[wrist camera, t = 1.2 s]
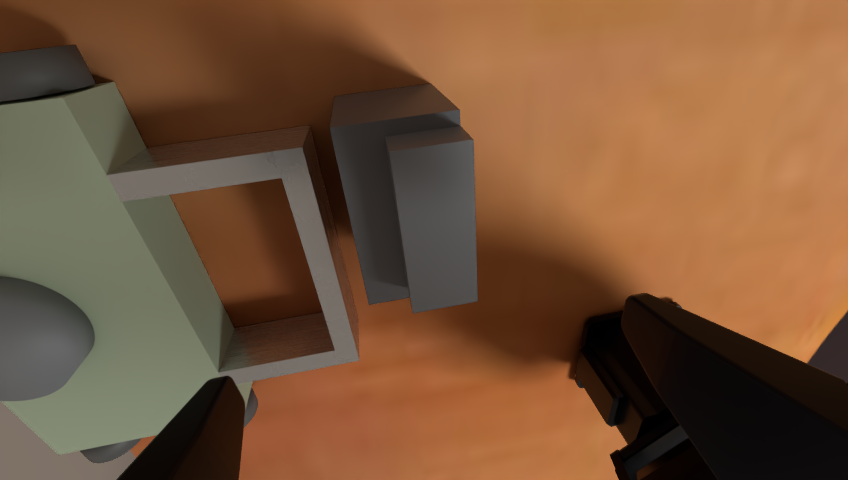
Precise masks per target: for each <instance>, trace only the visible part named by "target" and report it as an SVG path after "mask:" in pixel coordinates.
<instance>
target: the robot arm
mask: <svg viewBox="0 0 848 480" xmlns="http://www.w3.org/2000/svg"><path fill="white" fill-rule="evenodd" d="M575 382H576V384H577V385H578V387H580V388H585V390H586V392H587V393H588V395H589V396H590V398H591V400H592V401H593V403H594V404H595V406H596V408H597V409H598V411H599V413H600V414H601V416H602V417H603V419H604V421H605V422H606V424H608V425H609V426H611V427H612V426H616V427H617V428H618V430H619V431H620V433H621V435H622V436H623V438H624V439H625V441H626V442H627V444H628V445H627V446H625V447H624V448H622V449H621V450H616V451H614V452H613V453H611V454H610V457H611V459H612V462H613V464H614V466H615V472H616V474H617V476H618V479H619V480H848V382H847V383H846V382H845V381H844V380H843V379H841V378H838V377H836V376H834V375H832V374H829V373H827V372H825V371H822V370H820V369H818V368H816V367H813V366H811V365H809V364H807V363H804V362H802V361H800V360H798V359H795V358H793V357H791V356H789V355H786V354H784V353H782V352H779V351H777V350H775V349H773V348H770V347H768V346H766V345H764V344H761V343H759V342H757V341H755V340H752V339H750V338H748V337H745V336H743V335H741V334H739V333H736V332H734V331H732V330H730V329H727V328H725V327H723V326H721V325H718V324H716V323H714V322H711V321H709V320H707V319H705V318H702V317H700V316H698V315H696V314H693V313H691V312H689V311H687V310H684V309H682V307H681V306H680V305H679V304H678V303H676V302H669V303H668V302H666V301H664V300H662V299H659V298H657V297H655V296H653V295H650V294H647V293H641V294H636V295H631V296H629V297H628V298H627V299H626V302H625V306H624V311H623V312H618V313H613V314H608V315H602V316H597V317H593V318H590V319H588V320H587V321H586V323H585V326H584V331H583V337H582V343H581V348H580V350H579V356H578V362H577V368H576V378H575ZM244 419H245V401H244V398H243V396H242V395H241V393H240V391H239V389H238V387H237V386H236V384H235V382H234V380H233V379H232V377H230V376H222V377H217V378H212V379H209V380H208V381H207V382H206V383H205V384H204V385H203V386H202V387H201V388H200V389H199V390H198V391H197V392H196V393H195V394H194V396H193V397H192V398H191V399H190V400H189V401H188V402H187V403H186V404H185V405H184V406H183V408H182V409H181V410H180V411H179V412H178V413H177V414H176V415H175V416H174V417H173V418H172V420H171V421H170V422H169V423H168V424H167V425H166V426H165V427H164V428H163V429H162V430H161V432H160V433H159V434H158V435H157V436H156V437H155V438H154V439H153V440H152V441H151V442H150V444H149V445H148V446H147V447H146V448H145V449H144V450H143V451H142V452H141V453H140V454H139V456H138V457H137V458H136V459H135V460H134V461H133V462H132V463H131V464H130V465H129V466H128V468H127V469H126V470H125V471H124V472H123V473H122V474H121V475H120V476H119V477H118V479H117V480H239V471H240V461H241V451H242V440H243V429H244Z"/></svg>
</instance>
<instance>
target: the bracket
mask: <svg viewBox="0 0 848 480" xmlns="http://www.w3.org/2000/svg"><path fill="white" fill-rule="evenodd" d="M107 177H108V179H109V180H110V182H111V184H112V186H113V187H114V189H115V191H116V193H117V194H118V196H119V198H120V200H121V202H124V201H130V200H137V199H144V198H151V197H157V196H164V195H171V194H178V193H184V192H191V191H198V190H204V189H211V188H218V187H225V186H231V185H238V184H245V183H252V182H258V181H265V180H272V179H278V178H282V181H283V184H284V188H285V191H286V194H287V197H288V201H289V204H290V207H291V210H292V213H293V217H294V220H295V223H296V226H297V230H298V233H299V236H300V239H301V242H302V246H303V249H304V252H305V255H306V259H307V262H308V265H309V268H310V271H311V275H312V278H313V281H314V284H315V288H316V291H317V294H318V297H319V300H320V304H321V307H322V310H323V312H321V313H315V314H310V315H304V316H299V317H293V318H288V319H282V320H277V321H271V322H266V323H260V324H255V325H249V326H244V327H238V328H234V330H233V333H232V336H231V339H230V342H229V344H228V347H227V350H226V353H225V355H224V358H223V361H222V364H221V367H220V369H219V372H218V373H219V375H220V377H222V376H230V377H232V379H233V380H234V382H235V384H241V383H246V382H251V381H256V380H262V379H267V378H272V377H277V376H282V375H287V374H292V373H298V372H303V371H308V370H313V369H318V368H323V367H328V366H333V365H339V364H344V363H349V362H354V361H359V331H358V317H357V313H356V309H355V305H354V301H353V297H352V293H351V289H350V285H349V281H348V277H347V273H346V269H345V265H344V261H343V257H342V253H341V249H340V245H339V241H338V237H337V233H336V229H335V225H334V221H333V217H332V213H331V209H330V205H329V201H328V197H327V193H326V189H325V185H324V181H323V177H322V173H321V169H320V165H319V161H318V157H317V153H316V149H315V145H314V141H313V137H312V133H311V129H310V125H308V126H301V127H294V128H287V129H279V130H272V131H265V132H257V133H250V134H243V135H236V136H228V137H221V138H214V139H206V140H199V141H192V142H185V143H177V144H170V145H163V146H156V147H148V148H145V149H144V150H142V151H141V152H139V153H138V154H137V155H135V156H134V157H132V158H131V159H129V160H128V161H126V162H125V163H123V164H122V165H121V166H119V167H118V168H116V169H115V170H113V171H112V172H110V173H109V174H107Z"/></svg>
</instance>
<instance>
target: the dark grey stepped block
mask: <svg viewBox="0 0 848 480" xmlns="http://www.w3.org/2000/svg"><path fill="white" fill-rule="evenodd" d="M330 132H331V137H332V141H333V146H334V150H335V155H336V159H337V164H338V168H339V173H340V177H341V181H342V186H343V190H344V195H345V199H346V204H347V208H348V213H349V217H350V222H351V226H352V231H353V235H354V240H355V244H356V249H357V253H358V258H359V262H360V267H361V271H362V275H363V280H364V284H365V289H366V293H367V298H368V302H369V305H371V304H377V303H382V302H388V301H393V300H399V299H404V298H410V302H411V306H412V311H413V313H418V312H423V311H428V310H434V309H439V308H445V307H450V306H455V305H461V304H466V303H471V302H477V301H478V290H477V253H476V216H475V179H474V143H473V139H472V137H471V136H470V135H469V134H468V133H467V132H466V131H465V130H464V129H463V128H462V127H461V126H460V109H458V108H457V107H456V106H455V105H454V104H453V103H452V102H451V101H450V100H449V99H447V98H446V97H445V96H444V95H443V94H442V93H441V92H440V91H439V90H437V89H436V88H435V87H434V86H433V85H432V84H423V85H416V86H408V87H401V88H393V89H385V90H378V91H370V92H362V93H355V94H347V95H340V96H335V97H334V103H333V109H332V115H331V122H330Z"/></svg>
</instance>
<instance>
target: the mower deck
mask: <svg viewBox="0 0 848 480" xmlns="http://www.w3.org/2000/svg"><path fill="white" fill-rule="evenodd" d="M145 148H146V146H145V144H144V142H143V140H142V138H141V136H140V134H139V132H138V130H137V128H136V125H135V123H134V121H133V119H132V117H131V115H130V113H129V111H128V109H127V107H126V105H125V103H124V101H123V99H122V97H121V95H120V93H119V91H118V89H117V87H116V84H115V82H107V83H99V84H95V81H94V79H93V77H92V75H91V73H90V71H89V69H88V67H87V65H86V63H85V61H84V59H83V57H82V55H81V54H80V52H79V50H78V48H77V46H76V45H66V46H57V47H48V48H39V49H30V50H22V51H13V52H5V53H0V401H1V402H3V403H4V404H5V405H6V406H7V407H8V408H9V409H10V410H11V411H12V412H13V413H14V414H15V415H16V416H17V417H19V418H20V419H21V420H22V421H23V422H24V423H25V424H26V425H27V426H28V427H29V428H30V429H32V430H33V431H34V432H35V433H36V434H37V435H38V436H39V437H40V438H41V439H42V440H43V441H44V442H45V443H47V444H48V445H49V446H50V447H51V448H52V449H53V450H54V451H55V452H56V453H57V454H59V455H60V454H65V453H70V452H75V451H80V452H81V453H82V454H83V455H84V456H85V457H86V458H87V459H88V460H90V461H91V462H94V463H104V462H108V461H111V460H113V459H116V458H118V457H119V456H121V455H123V454H125V453H126V452H127V451H129V450H130V449H131V448H133V447H134V446H135V445H136V444H137V443H138V442H139V441H140V440H141V438H144V437H149V436H154V435H158V434H159V433H160V432H161V430H162V429H163V428H164V427H165V426H166V425H167V424H168V423H169V422H170V421H171V420H172V418H173V417H174V416H175V415H176V414H177V413H178V412H179V411H180V410H181V409H182V408H183V406H184V405H185V404H186V403H187V402H188V401H189V400H190V399H191V398H192V397H193V396H194V394H195V393H196V392H197V391H198V390H199V389H200V388H201V387H202V386H203V385H204V384H205V383H206V382H207V381H208V380H209V379H212V378H217V377H220V375H219V373H218V372H219V369H220V367H221V364H222V361H223V358H224V355H225V353H226V350H227V347H228V344H229V342H230V339H231V336H232V333H233V330H234V327H233V325H232V322H231V320H230V318H229V316H228V314H227V312H226V310H225V308H224V306H223V304H222V302H221V300H220V298H219V296H218V294H217V292H216V290H215V288H214V286H213V283H212V281H211V279H210V277H209V275H208V273H207V271H206V269H205V267H204V265H203V263H202V261H201V259H200V257H199V255H198V253H197V251H196V249H195V247H194V244H193V242H192V240H191V238H190V236H189V234H188V232H187V230H186V228H185V226H184V224H183V222H182V220H181V218H180V216H179V214H178V212H177V210H176V208H175V206H174V203H173V201H172V199H171V197H170V195H164V196H157V197H151V198H144V199H137V200H130V201H124V202H121V200H120V198H119V196H118V194H117V193H116V191H115V189H114V187H113V186H112V184H111V182H110V180H109V179H108V177H107V174H109V173H110V172H112V171H113V170H115V169H116V168H118V167H119V166H121V165H122V164H123V163H125V162H126V161H128V160H129V159H131V158H132V157H134V156H135V155H137V154H138V153H139V152H141V151H142V150H144V149H145ZM252 383H253V381H251V382H246V383H241V384H236V386H237V387H238V389H239V391H240V393H241V395H242V396H243V398H244V401H245V419H244V427H245V426H246V425H247V424H248V423H249V422H250V421H251V419H252V418H253V416H254V415H255V413H256V410H257V407H258V400H257V397H256V395H255V393H254V391H253V389H252V387H251V386H252Z"/></svg>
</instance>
